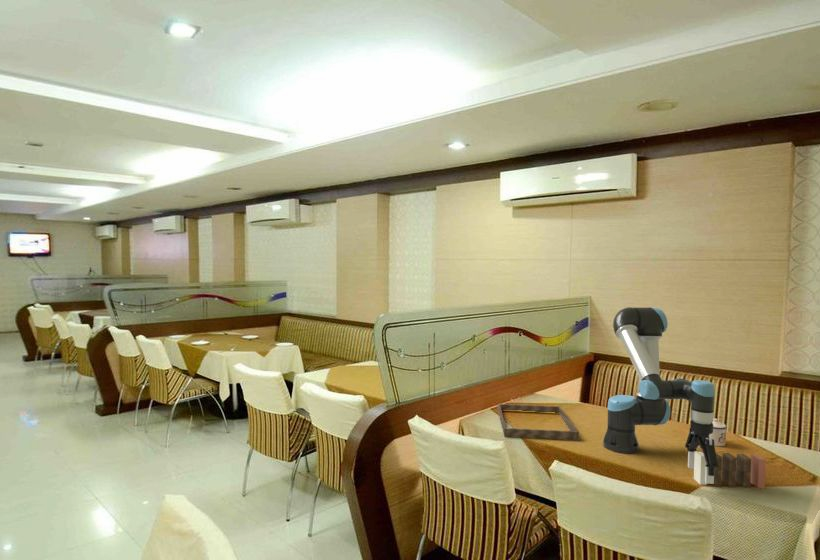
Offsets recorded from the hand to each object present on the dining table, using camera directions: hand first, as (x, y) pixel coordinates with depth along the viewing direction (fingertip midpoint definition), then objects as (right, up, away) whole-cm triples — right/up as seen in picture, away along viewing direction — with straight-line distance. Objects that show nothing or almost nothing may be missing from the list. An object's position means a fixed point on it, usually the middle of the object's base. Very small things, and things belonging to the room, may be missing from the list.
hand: (700, 475), depth 183 cm
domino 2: (+5, -3, 0) cm, 6 cm away
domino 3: (+10, -3, -1) cm, 11 cm away
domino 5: (+21, -3, -2) cm, 21 cm away
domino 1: (0, -2, 0) cm, 2 cm away
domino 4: (+15, -3, -2) cm, 16 cm away
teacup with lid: (+34, -2, +43) cm, 54 cm away
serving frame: (-47, 0, +66) cm, 81 cm away
